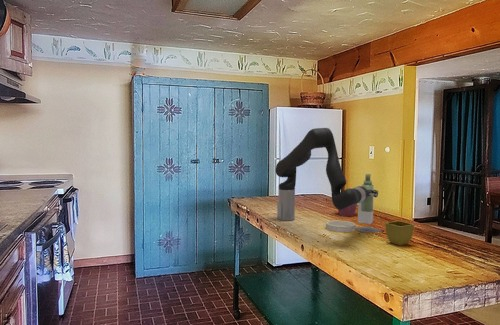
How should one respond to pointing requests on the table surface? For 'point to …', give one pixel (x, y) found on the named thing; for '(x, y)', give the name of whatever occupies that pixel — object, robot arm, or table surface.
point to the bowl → (340, 226)
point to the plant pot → (348, 211)
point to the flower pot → (399, 232)
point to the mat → (367, 229)
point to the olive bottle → (368, 203)
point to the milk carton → (364, 216)
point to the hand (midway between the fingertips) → (368, 191)
